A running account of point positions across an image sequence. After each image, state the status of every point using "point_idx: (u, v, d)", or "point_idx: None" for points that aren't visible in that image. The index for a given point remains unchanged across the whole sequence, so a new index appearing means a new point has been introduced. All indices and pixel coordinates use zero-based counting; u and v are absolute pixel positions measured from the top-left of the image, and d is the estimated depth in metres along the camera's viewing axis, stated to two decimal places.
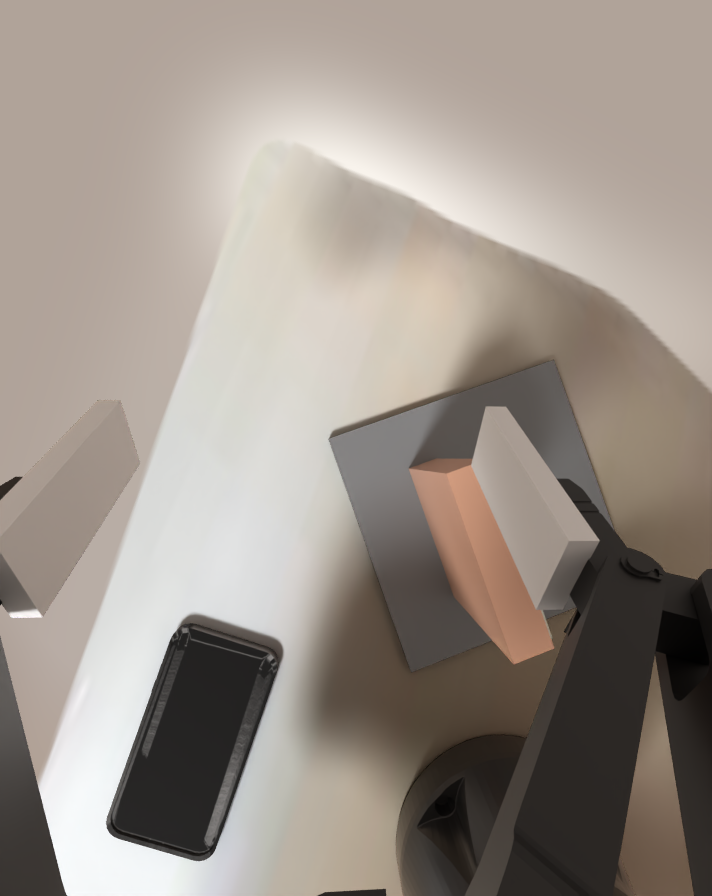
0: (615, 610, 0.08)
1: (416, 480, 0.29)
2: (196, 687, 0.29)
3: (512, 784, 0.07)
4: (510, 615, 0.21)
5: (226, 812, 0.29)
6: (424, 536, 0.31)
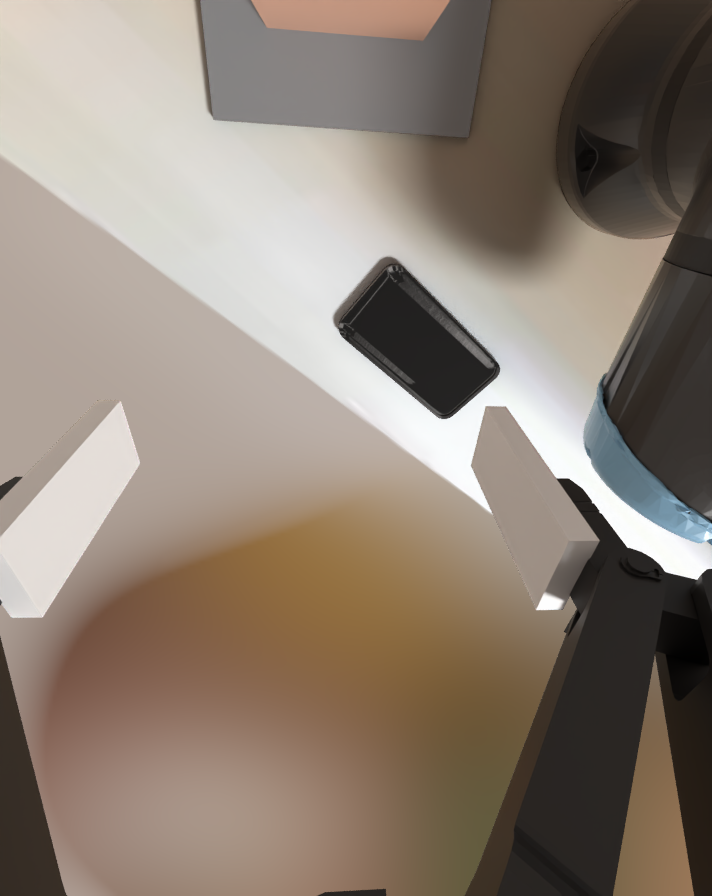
0: (615, 610, 0.08)
1: (277, 22, 0.25)
2: (385, 333, 0.38)
3: (512, 784, 0.07)
4: None
5: (479, 347, 0.39)
6: (347, 46, 0.27)
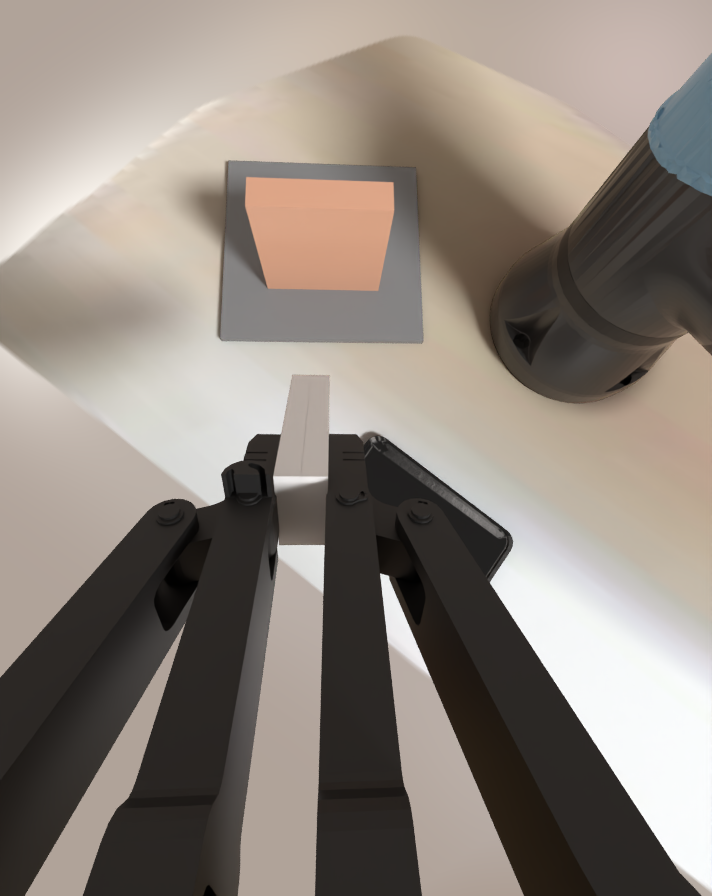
0: (343, 541, 0.10)
1: (275, 279, 0.36)
2: None
3: None
4: (359, 200, 0.28)
5: (481, 513, 0.35)
6: (324, 295, 0.38)
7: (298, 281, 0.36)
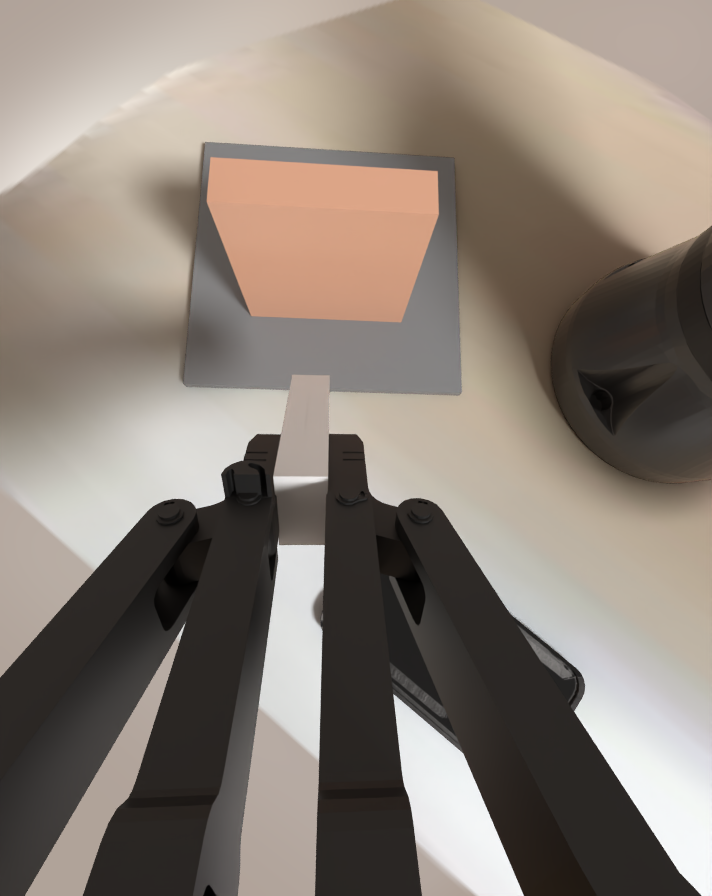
0: (343, 541, 0.10)
1: (260, 305, 0.26)
2: (392, 626, 0.25)
3: None
4: (385, 198, 0.18)
5: (540, 641, 0.25)
6: (328, 327, 0.28)
7: (292, 308, 0.26)
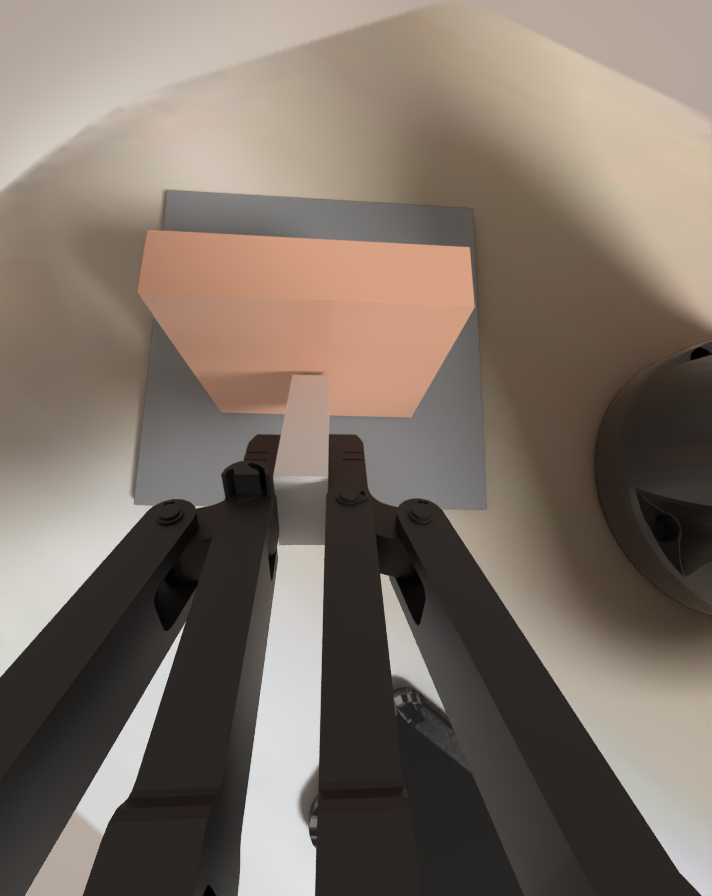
0: (343, 541, 0.10)
1: (231, 402, 0.20)
2: None
3: None
4: (397, 285, 0.13)
5: None
6: None
7: (273, 405, 0.21)
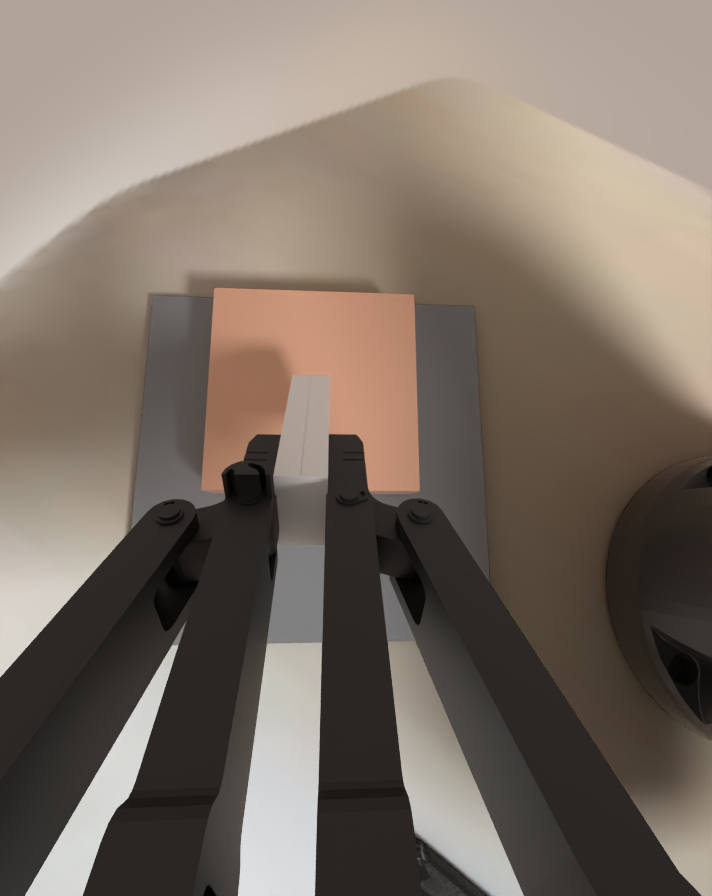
0: (343, 541, 0.10)
1: (222, 458, 0.19)
2: None
3: None
4: None
5: None
6: (315, 552, 0.21)
7: None
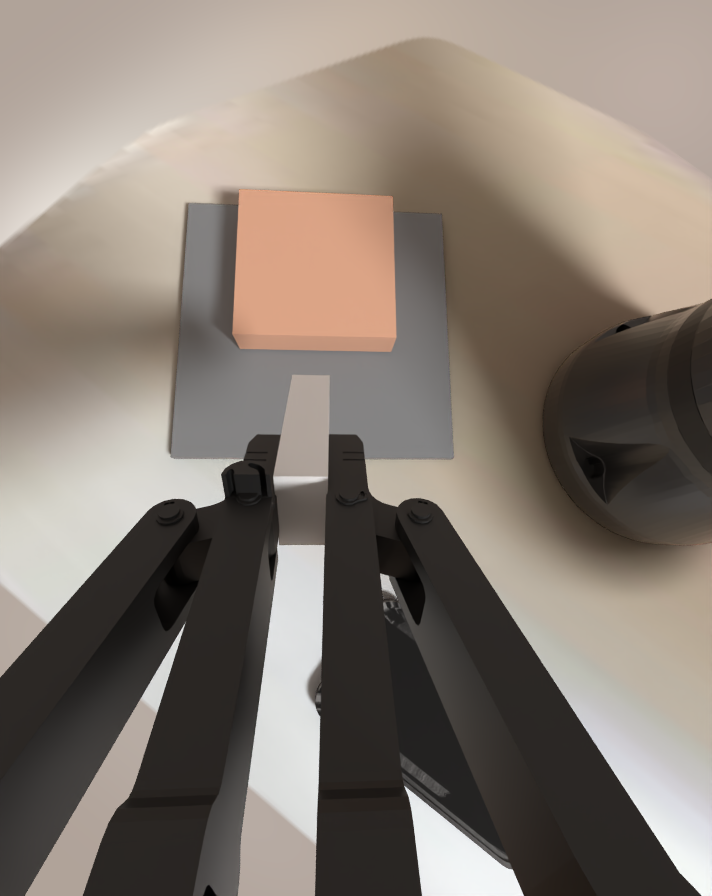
0: (343, 541, 0.10)
1: (247, 312, 0.25)
2: None
3: None
4: None
5: None
6: None
7: (280, 316, 0.26)
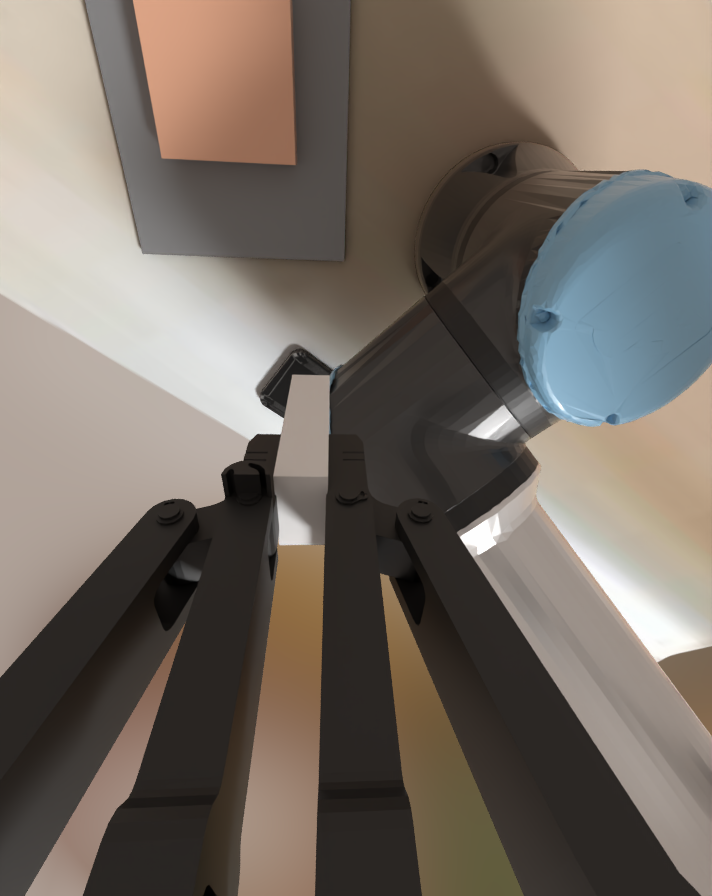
0: (343, 541, 0.10)
1: (169, 134, 0.31)
2: None
3: None
4: None
5: None
6: (240, 203, 0.35)
7: (197, 140, 0.31)
